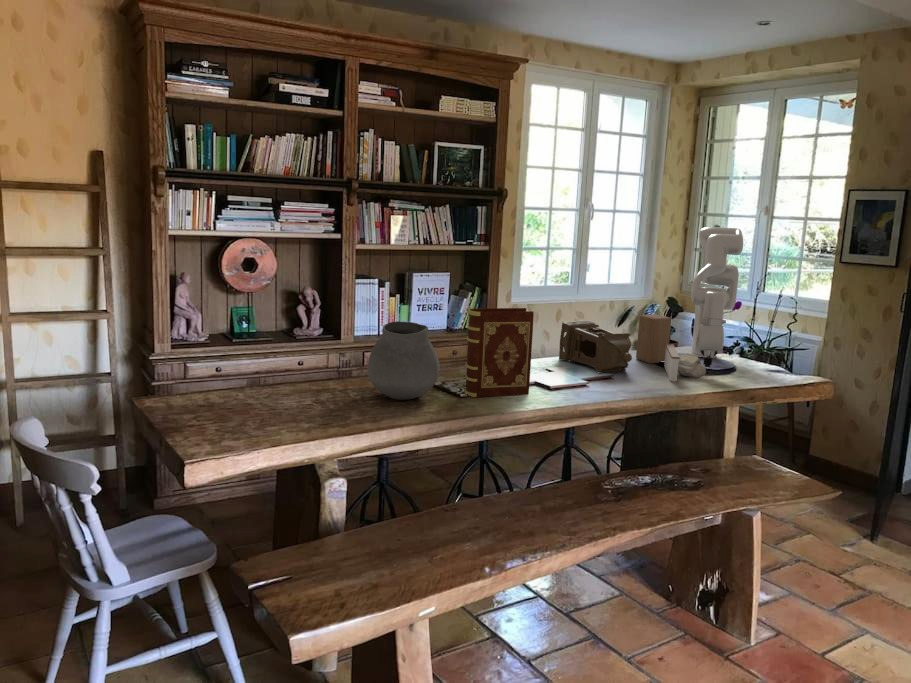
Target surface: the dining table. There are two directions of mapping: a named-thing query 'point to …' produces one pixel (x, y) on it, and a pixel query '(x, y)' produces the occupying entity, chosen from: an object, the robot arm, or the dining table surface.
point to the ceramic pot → (403, 361)
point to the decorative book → (499, 351)
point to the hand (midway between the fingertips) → (707, 366)
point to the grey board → (671, 362)
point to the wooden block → (653, 338)
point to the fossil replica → (691, 366)
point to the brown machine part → (594, 346)
